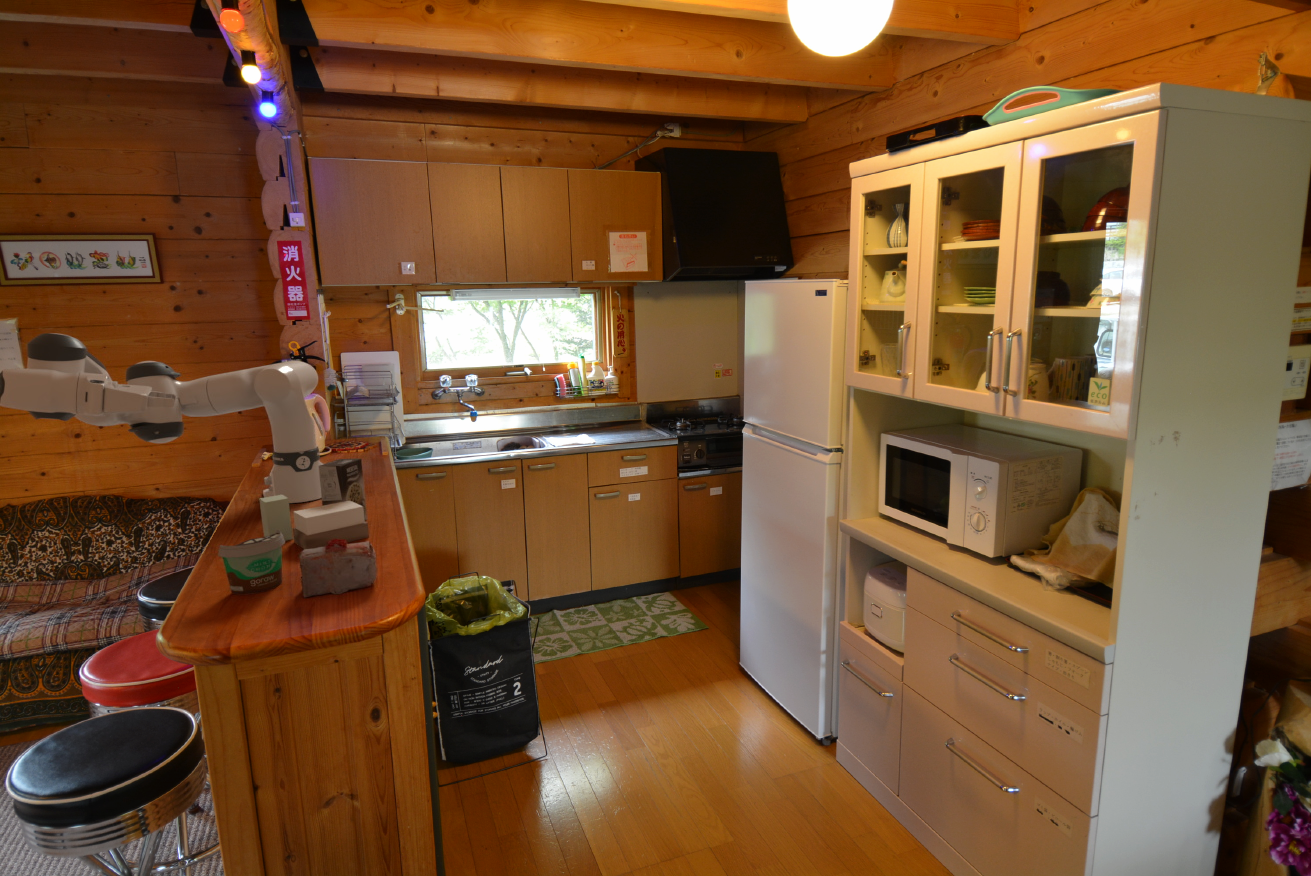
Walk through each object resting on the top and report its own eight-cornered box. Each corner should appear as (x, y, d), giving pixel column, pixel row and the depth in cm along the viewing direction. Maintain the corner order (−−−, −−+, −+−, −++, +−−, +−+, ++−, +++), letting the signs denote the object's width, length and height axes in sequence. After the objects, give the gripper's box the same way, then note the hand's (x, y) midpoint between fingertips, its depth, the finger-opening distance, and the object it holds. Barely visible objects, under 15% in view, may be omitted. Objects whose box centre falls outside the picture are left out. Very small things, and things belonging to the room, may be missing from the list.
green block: (264, 539, 177) (259, 498, 176) (286, 534, 181) (282, 494, 179) (270, 543, 174) (264, 502, 172) (293, 539, 177) (288, 498, 175)
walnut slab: (294, 544, 174) (292, 527, 174) (354, 531, 183) (353, 515, 183) (307, 553, 168) (305, 536, 167) (369, 538, 177) (367, 522, 176)
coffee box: (347, 530, 183) (340, 465, 180) (323, 529, 184) (316, 465, 181) (368, 519, 191) (362, 458, 189) (346, 518, 193) (339, 457, 190)
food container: (241, 601, 139) (234, 550, 138) (223, 595, 143) (216, 545, 141) (302, 580, 150) (297, 532, 148) (284, 575, 153) (278, 528, 151)
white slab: (295, 528, 173) (293, 511, 172) (351, 516, 182) (349, 500, 181) (307, 535, 167) (305, 518, 167) (364, 522, 176) (363, 506, 176)
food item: (376, 575, 152) (371, 529, 150) (379, 588, 144) (375, 540, 143) (301, 588, 146) (296, 539, 144) (302, 602, 139) (296, 551, 137)
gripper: (101, 404, 166) (175, 409, 174) (90, 415, 149) (172, 420, 156) (103, 376, 166) (177, 382, 173) (91, 383, 148) (174, 390, 156)
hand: (174, 400), depth 165 cm, fingers open, 8 cm apart
